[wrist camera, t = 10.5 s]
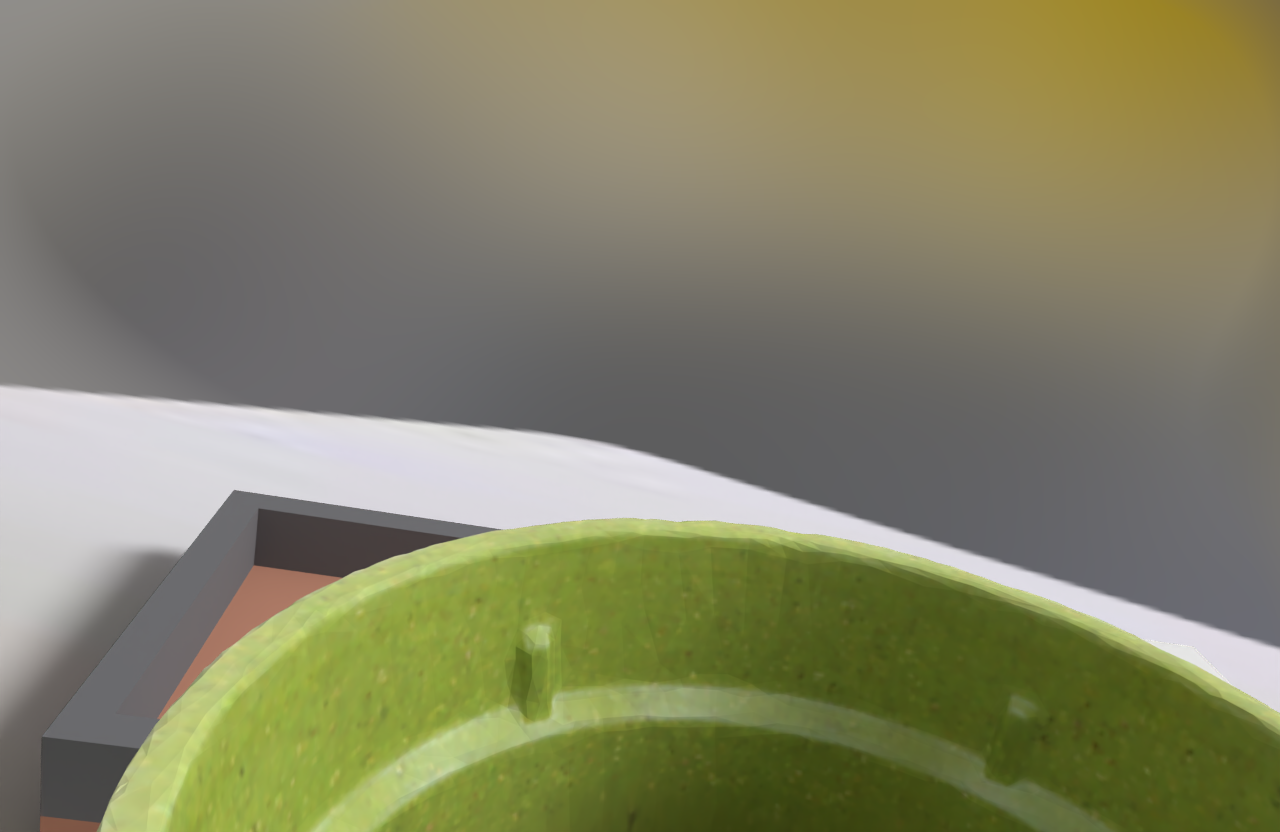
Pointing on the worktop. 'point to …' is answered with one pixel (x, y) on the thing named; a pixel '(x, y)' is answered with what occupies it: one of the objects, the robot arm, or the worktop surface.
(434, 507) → the worktop surface
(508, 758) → the plant pot
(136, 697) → the tray
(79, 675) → the worktop surface
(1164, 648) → the robot arm
